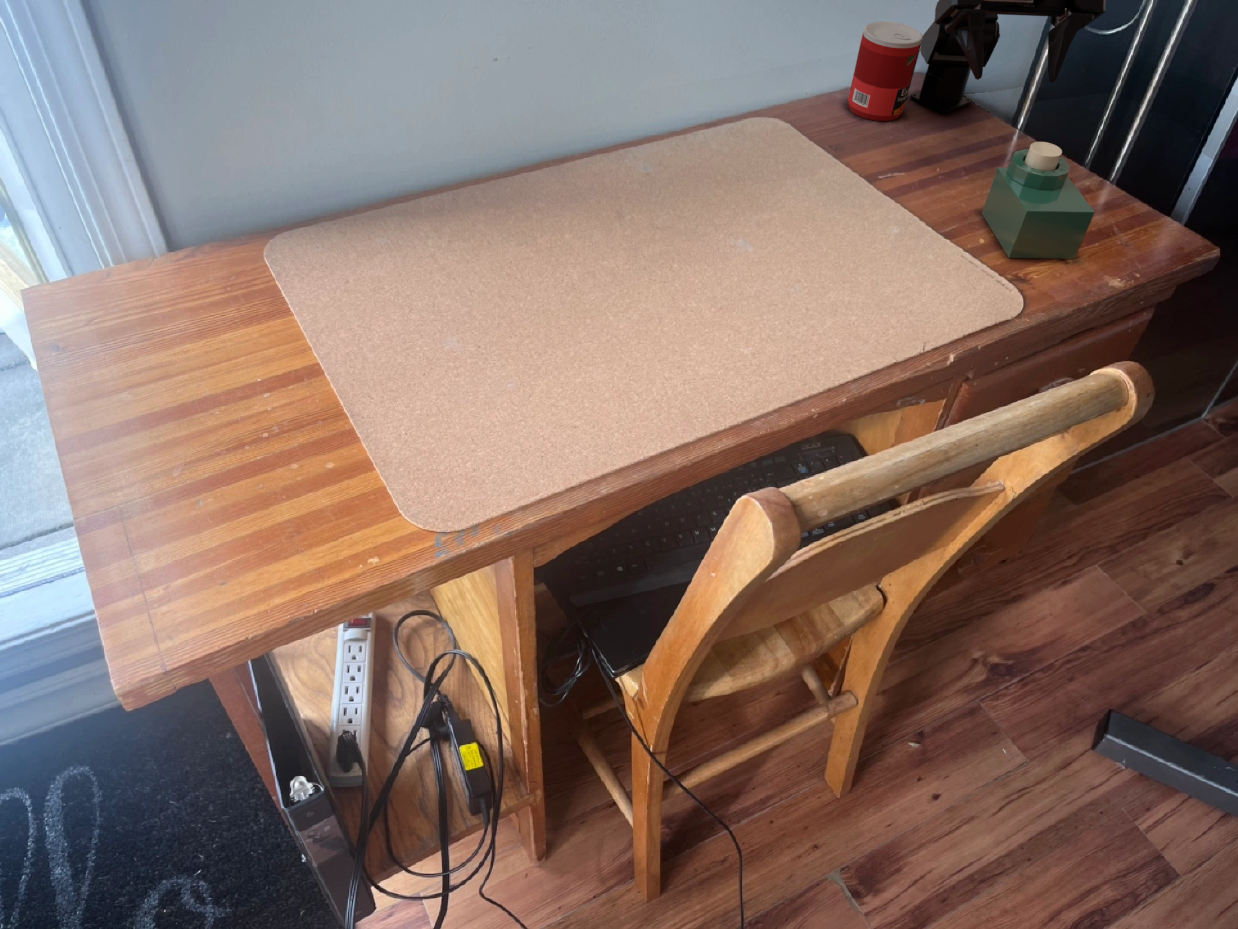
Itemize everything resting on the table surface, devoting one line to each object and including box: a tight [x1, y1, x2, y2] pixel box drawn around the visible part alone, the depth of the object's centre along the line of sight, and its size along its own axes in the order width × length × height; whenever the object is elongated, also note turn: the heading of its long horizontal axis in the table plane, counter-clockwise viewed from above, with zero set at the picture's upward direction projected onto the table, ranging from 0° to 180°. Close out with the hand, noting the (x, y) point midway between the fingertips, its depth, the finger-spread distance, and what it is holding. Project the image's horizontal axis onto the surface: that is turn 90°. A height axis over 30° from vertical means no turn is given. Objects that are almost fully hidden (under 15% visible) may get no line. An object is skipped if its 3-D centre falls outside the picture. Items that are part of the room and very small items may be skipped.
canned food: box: [847, 21, 923, 122], centre depth 137 cm, size 8×8×11 cm
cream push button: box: [1024, 141, 1063, 171], centre depth 114 cm, size 4×4×2 cm
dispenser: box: [981, 148, 1096, 260], centre depth 116 cm, size 11×8×8 cm
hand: (1016, 79), depth 119 cm, fingers open, 9 cm apart
